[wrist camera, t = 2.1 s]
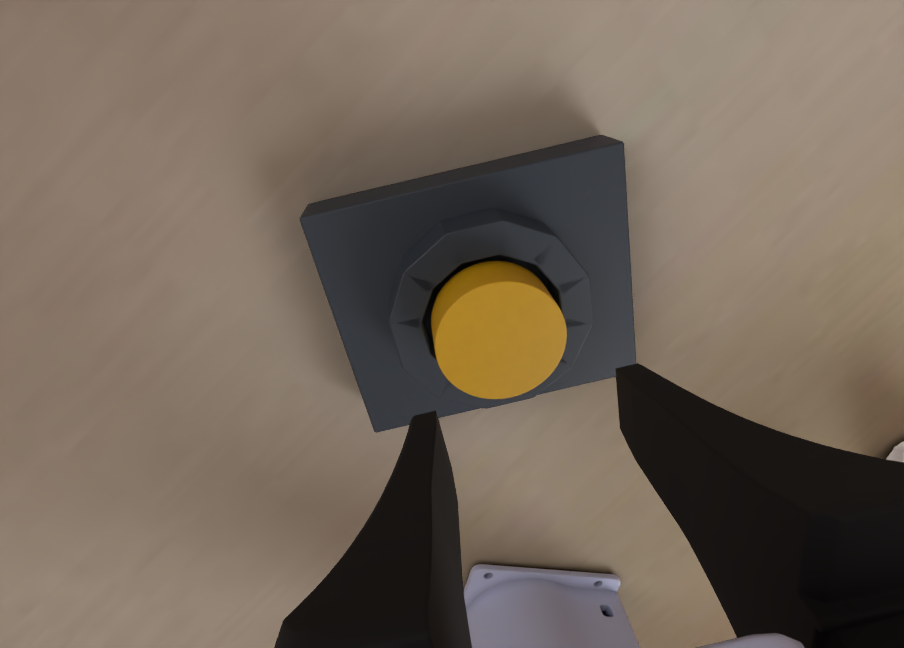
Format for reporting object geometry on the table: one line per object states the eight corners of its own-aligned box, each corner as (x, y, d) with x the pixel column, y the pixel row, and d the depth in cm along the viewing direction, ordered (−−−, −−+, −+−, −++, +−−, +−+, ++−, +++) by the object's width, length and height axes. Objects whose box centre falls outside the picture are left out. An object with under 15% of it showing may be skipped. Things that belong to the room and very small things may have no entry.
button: (543, 247, 19) (559, 267, 17) (557, 355, 21) (573, 383, 19) (418, 276, 19) (420, 299, 17) (445, 381, 21) (450, 412, 19)
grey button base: (602, 134, 21) (646, 148, 17) (618, 348, 25) (655, 394, 22) (307, 203, 21) (289, 232, 17) (376, 405, 25) (373, 461, 22)
